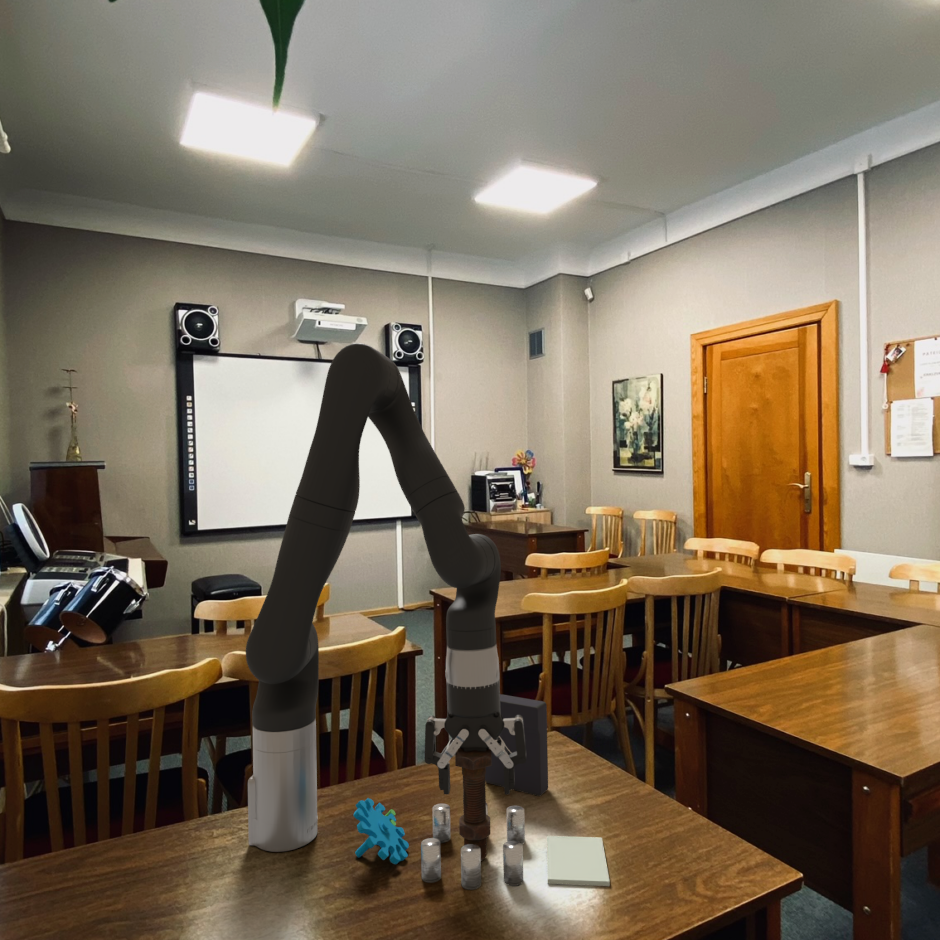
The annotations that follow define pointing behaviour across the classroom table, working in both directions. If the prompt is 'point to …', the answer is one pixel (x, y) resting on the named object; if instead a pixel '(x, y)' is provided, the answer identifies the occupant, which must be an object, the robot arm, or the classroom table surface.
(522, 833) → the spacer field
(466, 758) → the bolt
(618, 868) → the classroom table surface
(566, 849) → the plate
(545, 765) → the dark grey slab
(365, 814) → the gear
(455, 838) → the classroom table surface
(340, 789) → the classroom table surface
